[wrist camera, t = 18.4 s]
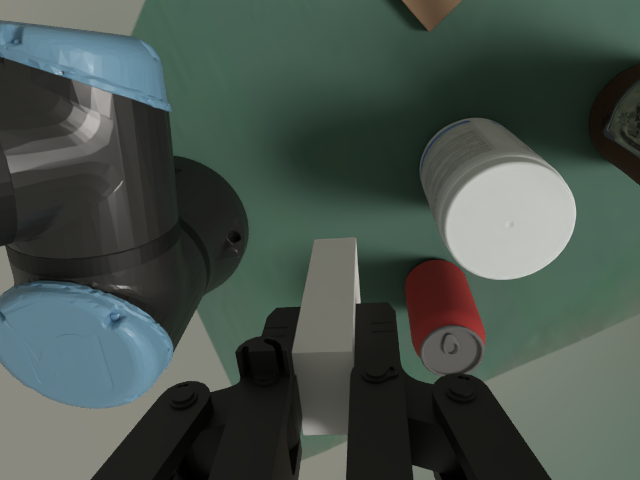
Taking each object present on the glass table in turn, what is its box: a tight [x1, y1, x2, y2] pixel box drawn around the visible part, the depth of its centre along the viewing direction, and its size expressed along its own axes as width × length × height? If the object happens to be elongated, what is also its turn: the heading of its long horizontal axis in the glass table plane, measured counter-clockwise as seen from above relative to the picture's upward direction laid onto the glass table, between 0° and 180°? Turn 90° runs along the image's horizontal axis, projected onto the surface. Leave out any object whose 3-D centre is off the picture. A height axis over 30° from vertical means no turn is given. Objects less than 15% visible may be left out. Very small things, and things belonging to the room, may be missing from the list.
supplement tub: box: [420, 118, 576, 280], centre depth 43 cm, size 10×10×15 cm
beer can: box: [405, 260, 485, 376], centre depth 50 cm, size 7×7×12 cm
